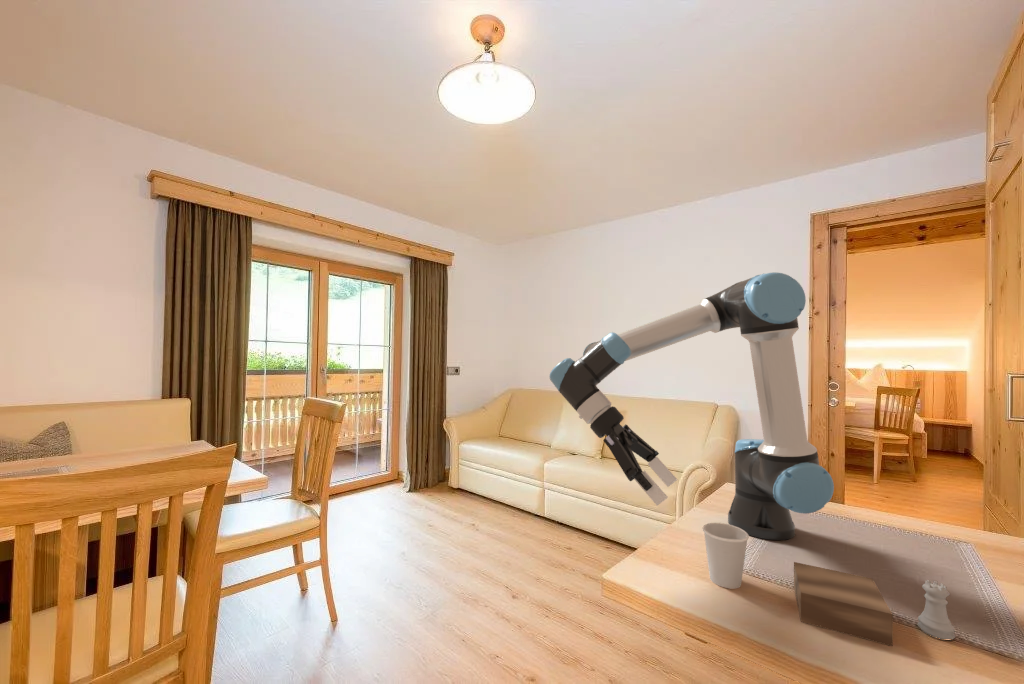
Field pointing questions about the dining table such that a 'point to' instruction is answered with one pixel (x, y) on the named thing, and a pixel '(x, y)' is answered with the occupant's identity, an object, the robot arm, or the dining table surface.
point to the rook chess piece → (936, 612)
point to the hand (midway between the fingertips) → (668, 491)
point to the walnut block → (842, 603)
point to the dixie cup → (725, 553)
